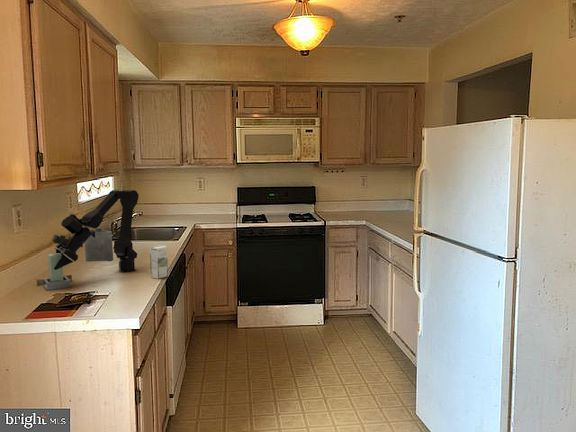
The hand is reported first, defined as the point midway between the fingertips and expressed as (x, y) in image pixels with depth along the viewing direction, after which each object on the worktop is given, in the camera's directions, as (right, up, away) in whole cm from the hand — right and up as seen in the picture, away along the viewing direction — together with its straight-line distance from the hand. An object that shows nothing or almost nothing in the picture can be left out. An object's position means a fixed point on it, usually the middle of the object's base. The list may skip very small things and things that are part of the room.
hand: (52, 267), depth 205 cm
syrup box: (+41, -6, +17) cm, 45 cm away
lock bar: (+1, -8, +2) cm, 9 cm away
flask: (-1, -2, +53) cm, 53 cm away
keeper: (+1, -8, +2) cm, 9 cm away
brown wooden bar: (-3, -8, +8) cm, 11 cm away
